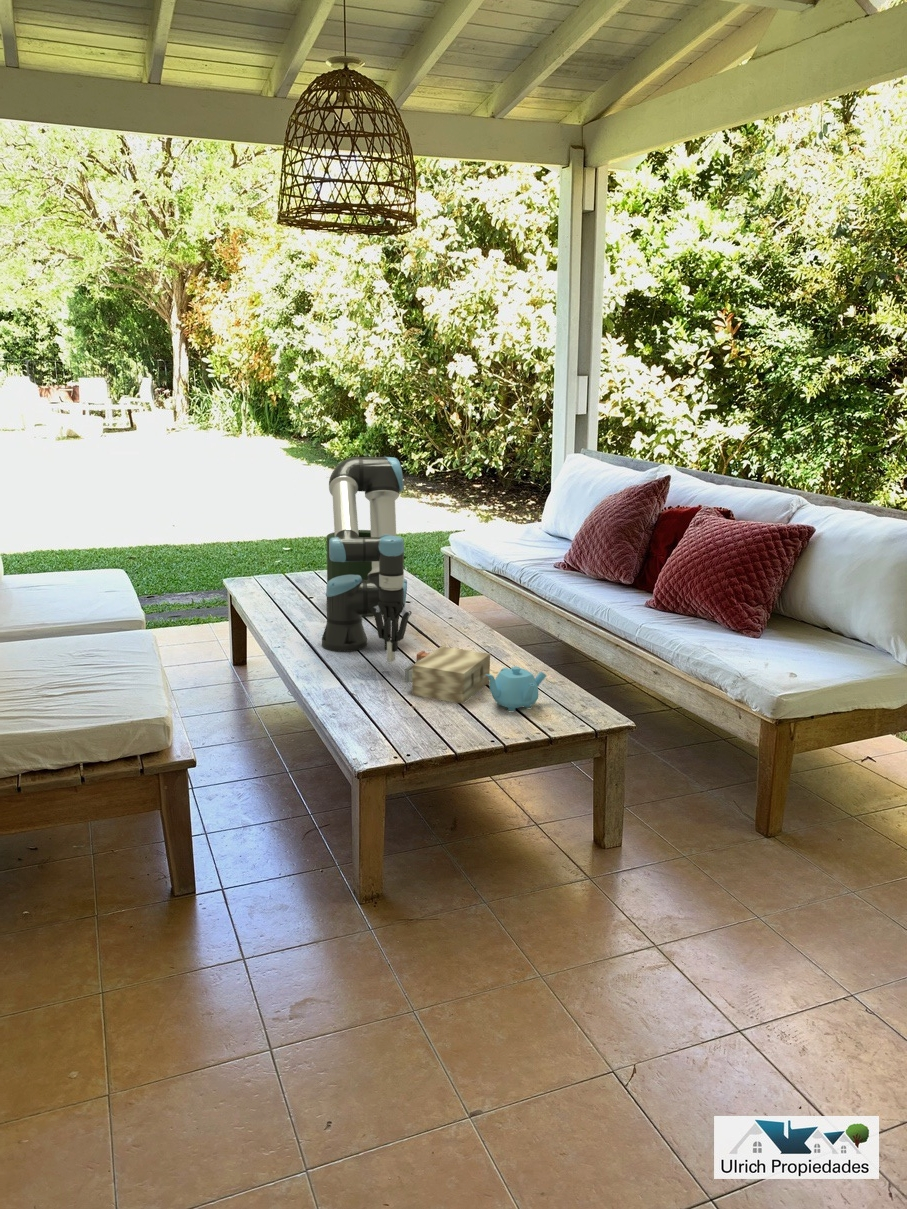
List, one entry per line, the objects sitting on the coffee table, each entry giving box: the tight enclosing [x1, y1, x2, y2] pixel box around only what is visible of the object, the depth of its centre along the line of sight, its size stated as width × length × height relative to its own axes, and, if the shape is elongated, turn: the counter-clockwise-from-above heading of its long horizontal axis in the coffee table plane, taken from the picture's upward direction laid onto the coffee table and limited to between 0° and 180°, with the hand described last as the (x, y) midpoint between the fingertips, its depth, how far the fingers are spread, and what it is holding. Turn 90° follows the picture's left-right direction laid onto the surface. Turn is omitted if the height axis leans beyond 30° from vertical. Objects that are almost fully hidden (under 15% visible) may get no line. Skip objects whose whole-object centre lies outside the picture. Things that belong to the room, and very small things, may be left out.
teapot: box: [485, 666, 547, 712], centre depth 268 cm, size 15×14×11 cm
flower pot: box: [326, 529, 383, 618], centre depth 362 cm, size 25×25×28 cm
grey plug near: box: [404, 664, 413, 684], centre depth 276 cm, size 17×4×4 cm, turn 66°
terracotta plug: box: [415, 650, 431, 662], centre depth 289 cm, size 17×4×4 cm, turn 66°
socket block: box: [411, 646, 491, 705], centre depth 281 cm, size 16×20×9 cm
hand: (391, 660), depth 297 cm, fingers closed
